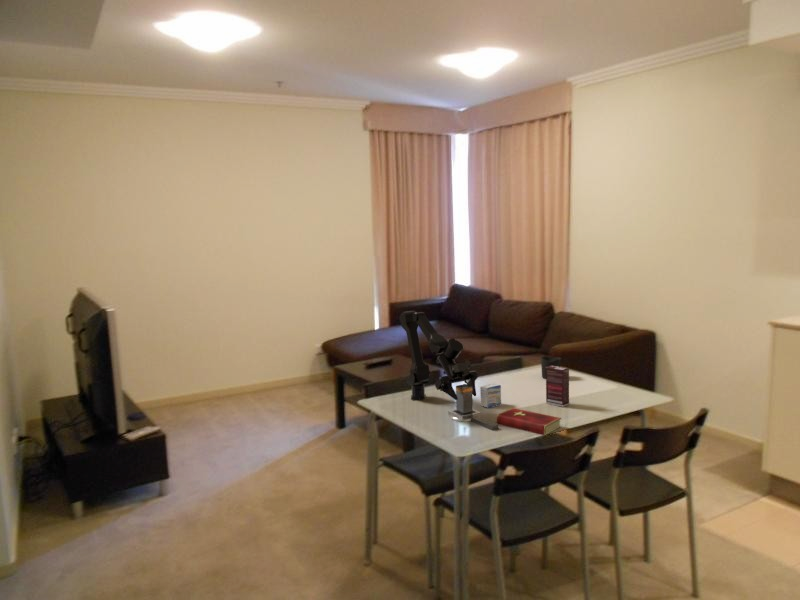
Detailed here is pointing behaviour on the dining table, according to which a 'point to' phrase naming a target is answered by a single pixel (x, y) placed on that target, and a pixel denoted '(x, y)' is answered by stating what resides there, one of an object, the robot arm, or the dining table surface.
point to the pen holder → (549, 363)
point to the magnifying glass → (473, 419)
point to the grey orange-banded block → (464, 399)
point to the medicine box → (490, 395)
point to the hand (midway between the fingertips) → (466, 397)
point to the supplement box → (557, 386)
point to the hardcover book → (528, 421)
